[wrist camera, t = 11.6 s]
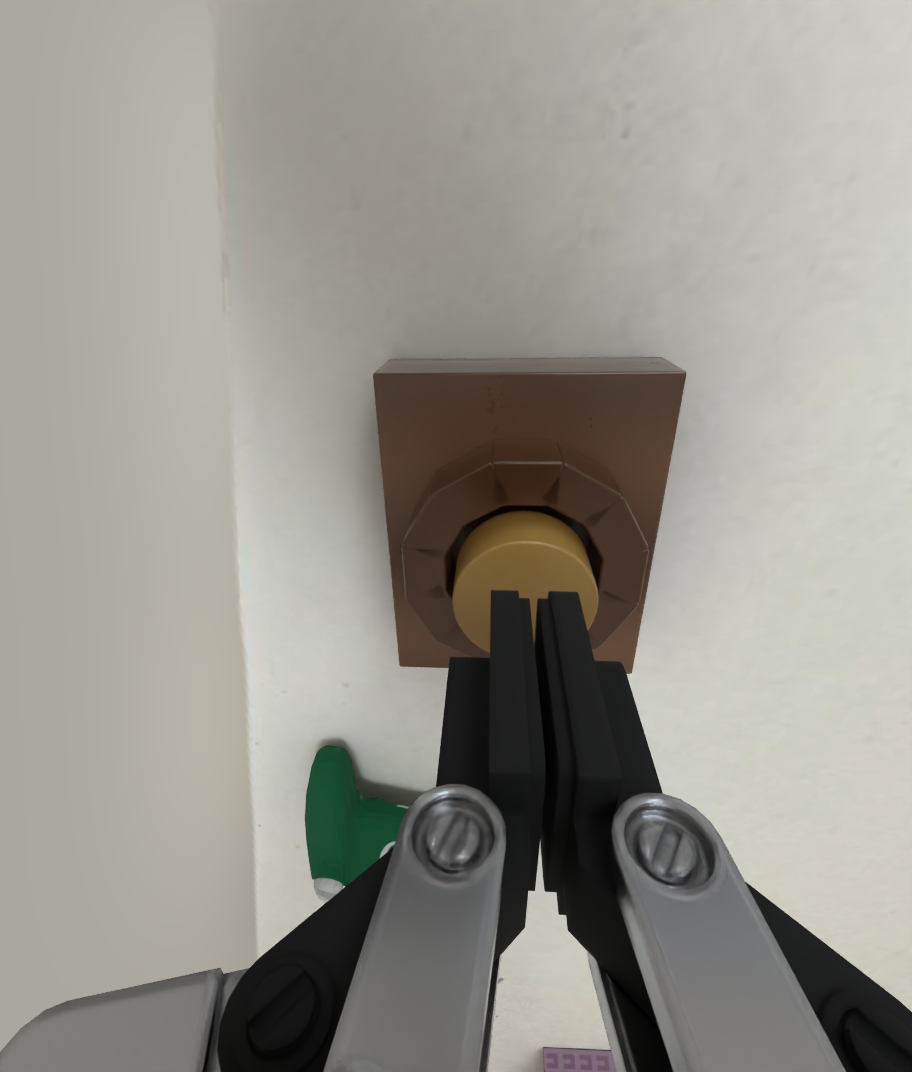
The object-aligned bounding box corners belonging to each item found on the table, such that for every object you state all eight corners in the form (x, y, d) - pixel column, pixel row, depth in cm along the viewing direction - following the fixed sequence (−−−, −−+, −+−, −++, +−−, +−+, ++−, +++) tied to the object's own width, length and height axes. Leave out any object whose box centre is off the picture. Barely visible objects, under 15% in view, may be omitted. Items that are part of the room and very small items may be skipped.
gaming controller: (327, 737, 26) (294, 872, 24) (314, 746, 22) (275, 906, 21) (507, 771, 26) (487, 907, 25) (523, 786, 23) (501, 946, 21)
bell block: (387, 358, 16) (356, 388, 12) (662, 356, 15) (714, 386, 11) (408, 627, 20) (390, 705, 17) (618, 633, 20) (645, 715, 16)
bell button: (455, 508, 14) (449, 540, 12) (594, 510, 13) (606, 542, 12) (458, 619, 15) (453, 659, 14) (581, 622, 15) (591, 663, 14)
